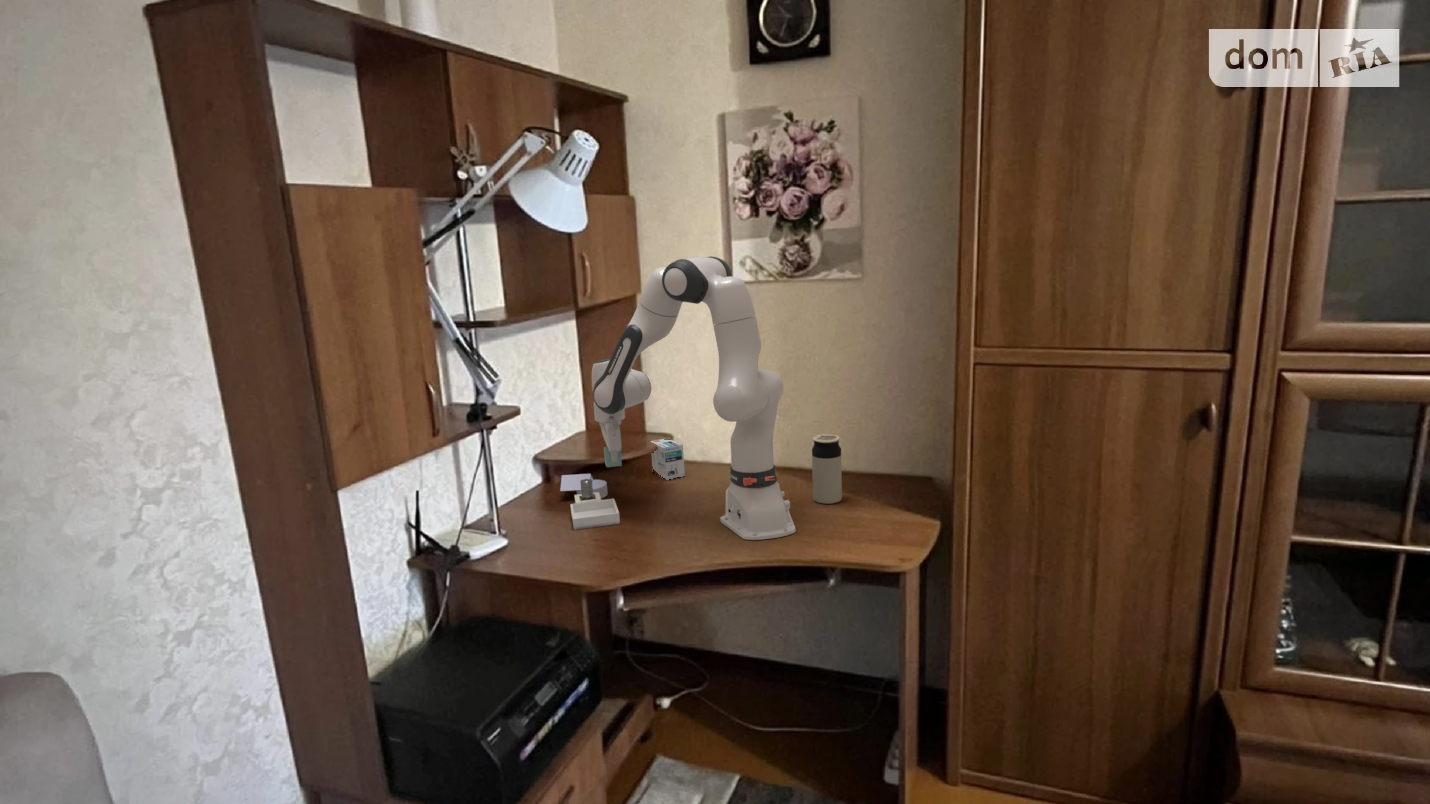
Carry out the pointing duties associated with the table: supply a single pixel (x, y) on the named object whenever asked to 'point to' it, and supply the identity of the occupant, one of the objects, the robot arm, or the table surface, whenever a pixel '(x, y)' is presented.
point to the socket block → (579, 500)
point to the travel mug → (827, 469)
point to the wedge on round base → (574, 484)
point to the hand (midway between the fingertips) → (613, 458)
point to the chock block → (608, 458)
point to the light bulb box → (668, 459)
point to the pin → (586, 489)
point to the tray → (594, 514)
